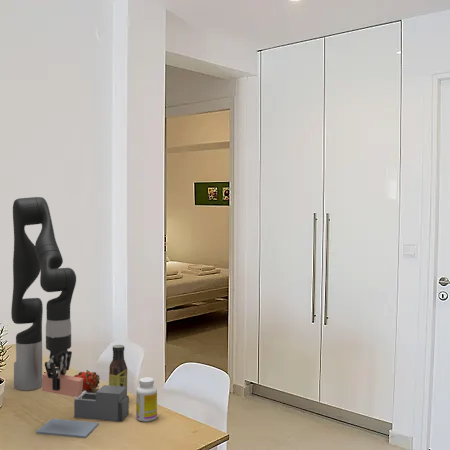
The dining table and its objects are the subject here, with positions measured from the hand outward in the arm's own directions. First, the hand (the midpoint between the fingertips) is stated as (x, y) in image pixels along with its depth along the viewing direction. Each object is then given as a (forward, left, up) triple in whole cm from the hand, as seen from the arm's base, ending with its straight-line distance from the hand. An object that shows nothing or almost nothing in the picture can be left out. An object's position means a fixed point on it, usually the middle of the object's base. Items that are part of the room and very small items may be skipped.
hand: (58, 387), depth 176 cm
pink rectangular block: (+1, 0, -1) cm, 2 cm away
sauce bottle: (+10, +24, -13) cm, 29 cm away
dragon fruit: (-5, +31, -13) cm, 34 cm away
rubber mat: (+3, 0, -13) cm, 13 cm away
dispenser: (+9, +12, -13) cm, 20 cm away
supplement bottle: (+24, +13, -13) cm, 30 cm away
